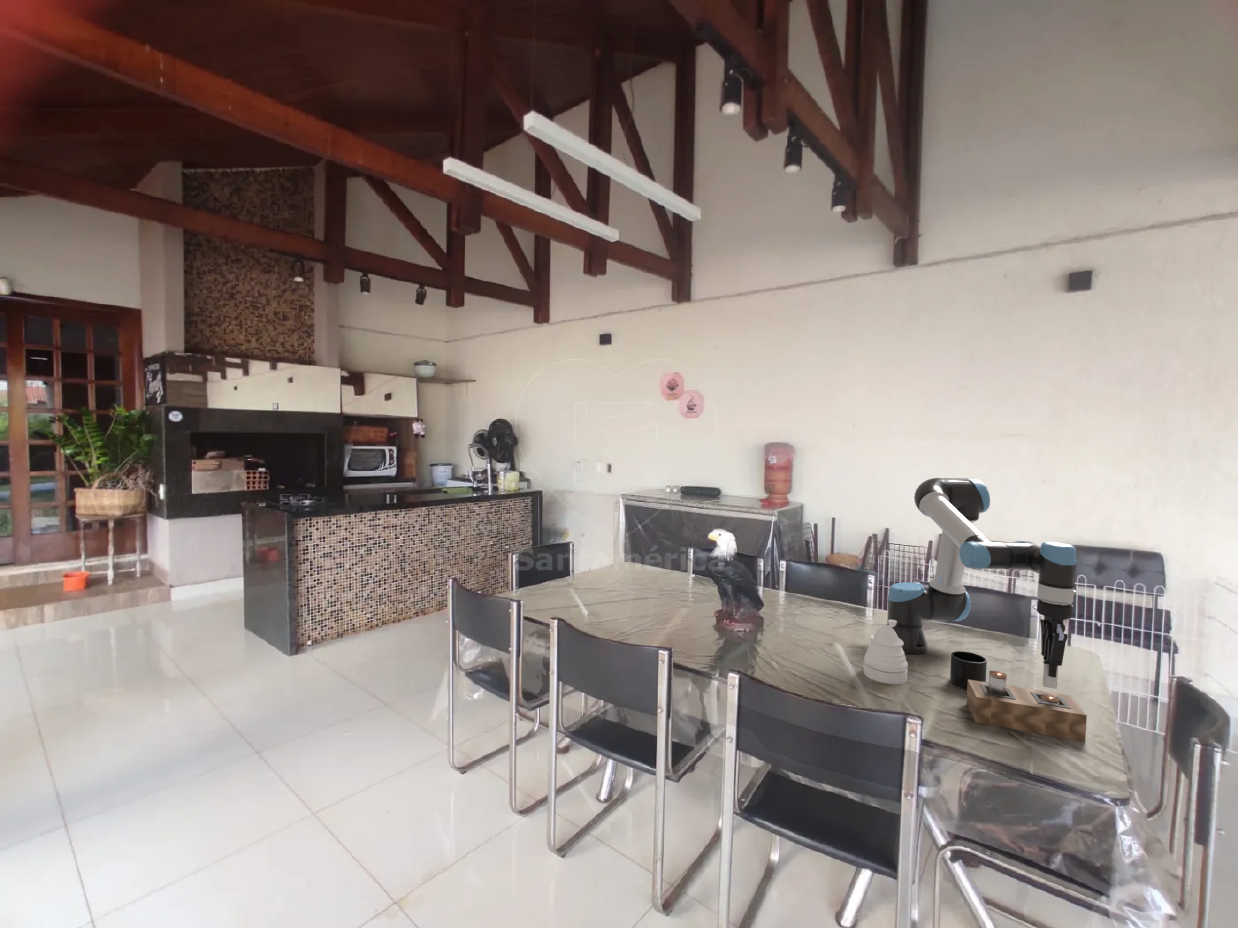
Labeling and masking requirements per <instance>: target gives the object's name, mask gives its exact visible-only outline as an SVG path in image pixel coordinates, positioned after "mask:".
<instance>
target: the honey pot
mask: <svg viewBox="0 0 1238 928" xmlns="http://www.w3.org/2000/svg"><path fill="white" fill-rule="evenodd" d="M887 620H888V619H887ZM888 623H889V625H887V624H883V625H882V626H880V627H879V628H878V629H877V630H876V632H875V633H874V634H872V635H870V636H869V641H870V643H869V645H867V649H866V651H865V654H864V656H863V674H864V675H865V676H866V677H867V678H869V679H871V680H873V681H876V682H879V683H883V684H888V685H901V684H905V683H907V681H908V666H909V665H908V664H909V663H908V661H907V660H906V659H907V658H906V655H905V653H904V651H903V649H902V646H903V645H904V642H903V641H902V640H901V639H899V638H898V636H897V634H896V632H895V631H894V630H893V628H892V627H894V626H895V625H896V624H897V621H896V620H888Z"/></svg>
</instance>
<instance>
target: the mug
mask: <svg viewBox="0 0 1238 928" xmlns="http://www.w3.org/2000/svg"><path fill="white" fill-rule="evenodd" d="M987 661H988V660H987V658H985V657H984V656H983V655H982V656H981V655H980V654H977V653H973V652H969V651H962V650H957V651H953V652H951V653H950V675H949V678H950V679H949V681H950V683H951V684H952V685H953V686H955V687H957V688H959V689H962V690H965V691H967V684H968V680H975V681H981V682H987V663H988V662H987Z"/></svg>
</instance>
